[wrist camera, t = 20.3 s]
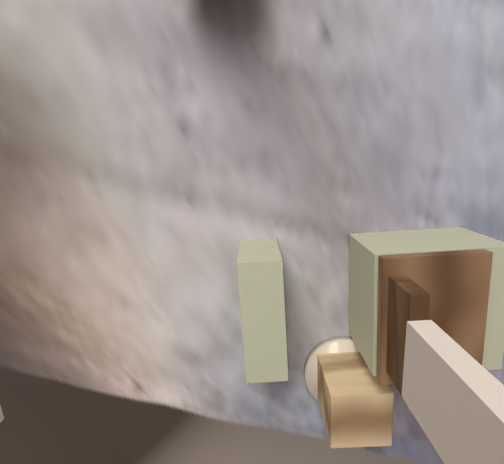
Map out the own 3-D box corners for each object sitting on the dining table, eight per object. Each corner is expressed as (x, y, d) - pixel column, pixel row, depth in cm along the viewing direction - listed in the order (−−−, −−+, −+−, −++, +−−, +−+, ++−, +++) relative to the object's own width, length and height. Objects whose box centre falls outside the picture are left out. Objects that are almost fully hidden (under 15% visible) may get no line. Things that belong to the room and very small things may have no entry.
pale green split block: (247, 338, 39) (246, 383, 31) (240, 240, 37) (236, 263, 29) (451, 326, 39) (501, 369, 31) (458, 226, 36) (515, 245, 28)
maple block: (317, 353, 38) (330, 396, 31) (368, 351, 38) (393, 393, 31) (317, 398, 40) (330, 448, 33) (367, 395, 39) (391, 445, 33)
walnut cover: (376, 378, 31) (399, 419, 26) (378, 255, 28) (404, 276, 23) (473, 372, 31) (514, 413, 26) (484, 249, 28) (533, 268, 23)
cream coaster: (305, 403, 41) (306, 410, 40) (302, 338, 39) (304, 344, 38) (377, 399, 41) (381, 406, 40) (378, 334, 39) (382, 339, 38)
